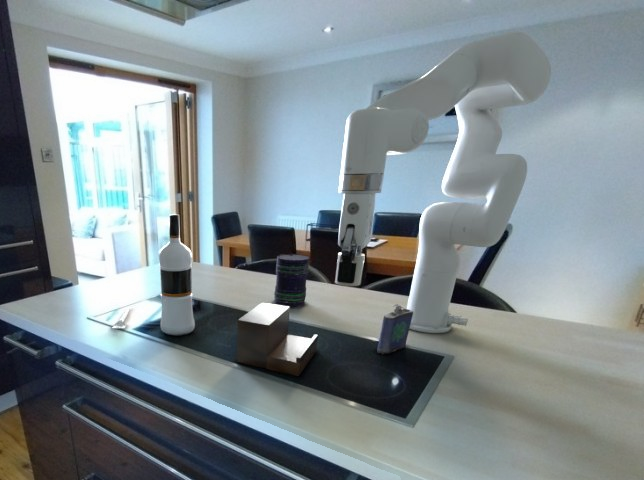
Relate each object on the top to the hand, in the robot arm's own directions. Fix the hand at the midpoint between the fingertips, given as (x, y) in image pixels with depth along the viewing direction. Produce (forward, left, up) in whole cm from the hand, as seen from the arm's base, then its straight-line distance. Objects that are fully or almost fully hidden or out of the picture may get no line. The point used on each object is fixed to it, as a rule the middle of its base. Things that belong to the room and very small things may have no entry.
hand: (348, 278), depth 80 cm
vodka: (+41, +2, -19) cm, 45 cm away
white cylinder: (0, 0, -1) cm, 1 cm away
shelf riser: (+12, +5, -19) cm, 23 cm away
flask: (-10, -12, -19) cm, 24 cm away
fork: (+59, +3, -19) cm, 62 cm away
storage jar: (+22, -35, -19) cm, 45 cm away
